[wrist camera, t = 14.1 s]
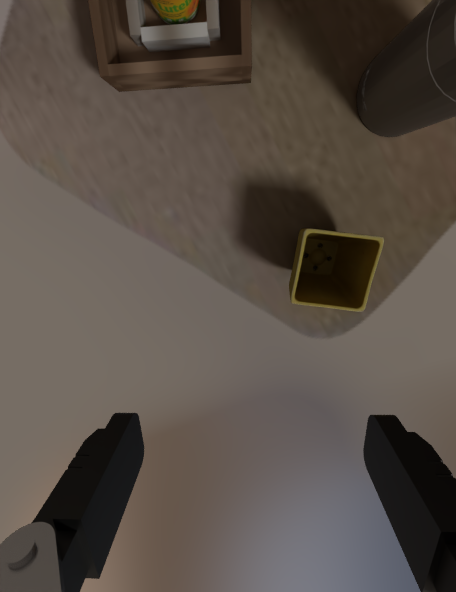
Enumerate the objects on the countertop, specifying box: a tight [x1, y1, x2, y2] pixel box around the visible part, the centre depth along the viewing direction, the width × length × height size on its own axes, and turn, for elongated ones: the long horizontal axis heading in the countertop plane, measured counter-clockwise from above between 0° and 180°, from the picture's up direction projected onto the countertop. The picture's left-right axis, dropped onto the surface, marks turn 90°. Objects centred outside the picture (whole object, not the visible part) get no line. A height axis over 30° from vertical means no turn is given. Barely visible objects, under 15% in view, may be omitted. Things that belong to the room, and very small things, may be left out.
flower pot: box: [289, 228, 384, 311], centre depth 37 cm, size 9×9×9 cm
